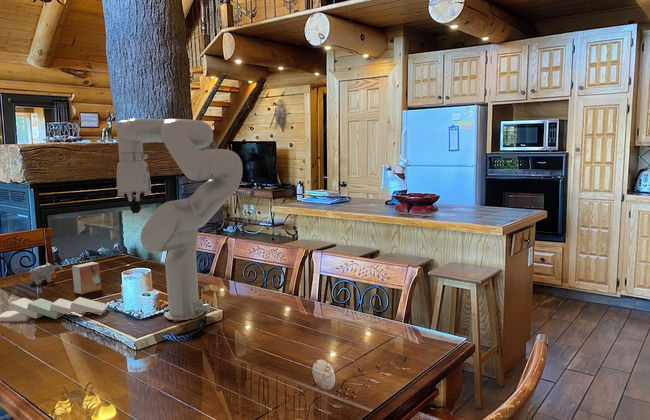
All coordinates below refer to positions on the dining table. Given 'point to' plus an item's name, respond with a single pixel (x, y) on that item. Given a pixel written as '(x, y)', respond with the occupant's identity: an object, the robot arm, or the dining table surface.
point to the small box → (86, 277)
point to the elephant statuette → (43, 273)
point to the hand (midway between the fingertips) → (136, 212)
